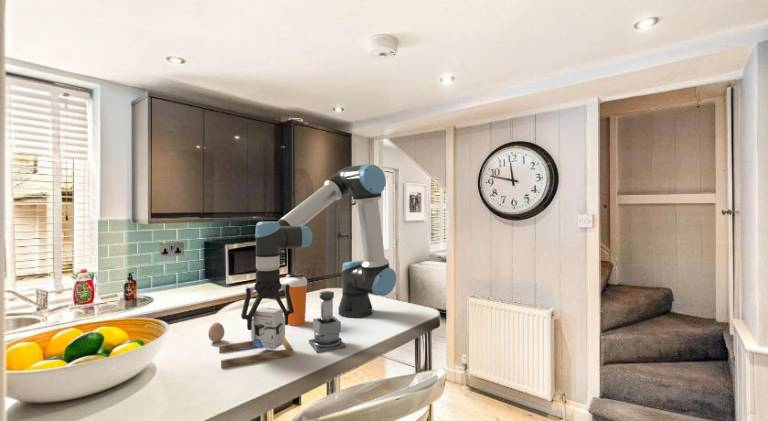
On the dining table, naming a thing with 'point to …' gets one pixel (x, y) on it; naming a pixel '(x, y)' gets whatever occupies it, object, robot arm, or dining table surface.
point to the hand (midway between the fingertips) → (268, 337)
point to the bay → (252, 358)
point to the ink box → (268, 328)
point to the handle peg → (326, 306)
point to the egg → (216, 332)
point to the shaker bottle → (297, 298)
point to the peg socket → (326, 336)
